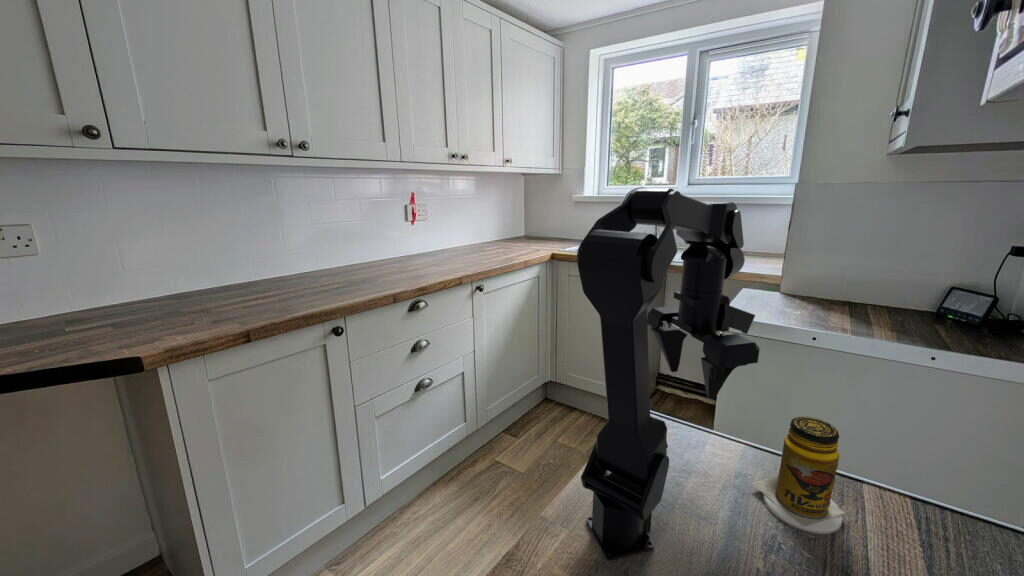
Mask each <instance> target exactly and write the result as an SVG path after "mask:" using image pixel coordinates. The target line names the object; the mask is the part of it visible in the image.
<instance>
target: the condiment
mask: <svg viewBox="0 0 1024 576" xmlns="http://www.w3.org/2000/svg"><path fill="white" fill-rule="evenodd" d="M839 438H840V435H839V430H838V429H837V428H836V427H835V426H834V425H832V424H831V423H829V422H827V421H825V420H823V419H819V418H816V417H810V416H797V417H794V418H792V419H791V421H790V424H789V429H788V434H786V436H785V437H784V441H783V446H782V451H781V459H780V465H779V470H778V475H775V476H773V477H768V478H767V479H766V478H765V479H761V480H758V481H753V482H750V484H751V485H752V486H754V487H755V488H756V489H757V490H758V491H759V492H761V493H762V494H765V495H766V496H767V497H769V498H770V499H771V500H772V501H773V502H774V503H775V504H776V505H778V506H779V507H780V508H781V509H783V510H784V511H785V512H786V513H788V514H789V515H790V516H791V517H792V518H794V519H795V520H796V521H797V522H799V523H800V524H801V525H803V526H807V525H810V524H814V523H818V522H821V521H824V520H827V519H830V518H833V517H835V516H837V515H841V514H842V515H844V514H846V511H844V510H843V509H841V508H839V506H838V505H837V506H838V507H837V506H835V505H833V504H832V503H831V500H832V494H833V491H834V485H835V481H836V473H837V470H838V467H839V459H840V452H839V450H838V447H839ZM830 499H831V500H830Z"/></svg>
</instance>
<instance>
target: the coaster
mask: <svg viewBox="0 0 1024 576" xmlns="http://www.w3.org/2000/svg"><path fill="white" fill-rule="evenodd" d="M762 494H763V493H762ZM762 498H763V502H764V505H765V506H766V507H767V509H768V510H769V511H770V512H771V513H772V514H773V515H774V516H775V517H777V518H778V519H779V520H781V521H783V522H784V523H786V524H787V525H789V526H791V527H793V528H795V529H798V530H800V531H804V532H807V533H811V534H817V535H829V534H834V533H836V532H838V531H839V530H840V528H841V527H842V523H843V514H841V515H837V516H835V517H833V518H830V519H827V520H824V521H821V522H818V523H814V524H810V525H807V526H803V525H801V524H800V523H799V522H797V521H796V520H795V519H794V518H792V517H791V516H790V515H789V514H788V513H786V512H785V511H784V510H783V509H781V508H780V507H779V506H778V505H776V504H775V503H774V502H773V501H772V500H771V499H770V498H769V497H767V496H766V495H765V494H763V495H762ZM830 500H831V503H832V504H833V505H835V506H837V507H838V508H839V506H838V505H837V504H836V503H835V502H834V501H833V500H832V498H831V499H830Z"/></svg>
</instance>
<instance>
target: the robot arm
mask: <svg viewBox="0 0 1024 576" xmlns="http://www.w3.org/2000/svg"><path fill="white" fill-rule="evenodd" d="M638 225H642V226H643V225H645V226H655V227H661V228H663V230H662V232H661V234H660V235H659V237H657V236H656V235H655V234H654V233H653V234H652V233H647V232H636V231H635V232H632V231H633V230H634V229H635V228H636V227H637V226H638ZM674 230H676V231H675V232H676V233H674ZM675 234H676V235H677V237H679V238H681V239H682V240H683V242H684V243H685V245H689V246H688V247H687V249H685V250H684V251H682V253H681V255H680V260H681V261H682V270H681V280H680V282H681V283H680V290H678V291H677V290H676V291H674V292H673V298H674V299H675V300H677V301H679V302H678V306H677V305H672V306H671V305H670V306H660V307H652V309H651V310H650V311H649V312H648V309H649V307H650V305H651V304H652V303H653V301H654V299H656V297H657V295H659V292H660V291H661V290H662V289H663V284H664V277H665V275H666V273H667V272H668V270H669V268H670V266H671V264H672V262H673V260H674V258H675V257H676V255H677V253H678V248H677V247H678V246H677V242H676V238H675V237H676V236H675ZM743 234H744V231H743V222H742V214H741V211H740V210H738V207H737V204H736V203H735V202H733V201H703V200H697V199H695V198H691V197H689V196H687V195H683V194H681V192H680V191H679V190H675V189H673V188H667V187H666V188H659V187H658V188H656V187H655V188H654V187H653V188H651V187H649V188H647V187H646V188H645V187H643V188H638V189H637V190H632V191H631V192H630V193H629V194H628V196H627V197H626V199H624V201H623V203H622V204H620V205H619V206H617V207H615V208H613V209H612V210H611V211H609V212H607V213H606V214H604V215H603V216H601V217H600V218H598V219H597V220H596V221H595V222H594V223H593V226H591V228H590V230H589V231H588V232H587V234H586V235H585V237H584V238H583V240H582V241H581V242H580V244H579V246H578V249H577V253H576V265H577V270H578V274H579V279H580V284H581V288H582V292H583V295H585V297H586V298H587V299H588V301H589V302H590V304H591V305H592V306H593V308H594V309H595V311H596V312H597V313H598V316H599V318H600V319H599V320H600V331H601V332H600V333H601V343H602V346H601V347H602V357H603V358H602V359H603V372H604V383H605V384H604V385H605V397H606V409H607V422H606V423H605V424H604V425H603V427H602V428H601V430H600V431H599V432H598V433H597V434H596V441H595V444H594V446H593V448H592V451H591V452H590V456H589V457H588V459H587V462H586V464H585V467H584V469H583V471H582V474H581V477H580V479H581V484H582V487H583V488H584V489H587V490H590V491H591V492H592V493H593V494H592V510H591V511H592V513H591V514H592V515H588V516H587V517H586V524H587V525H588V527H589V529H590V532H591V533H592V535H593V537H594V538H595V540H596V542H597V544H598V547H600V550H601V552H602V554H603V556H604V558H606V559H607V560H614V559H618V558H623V557H627V556H632V555H636V554H640V553H644V552H649V551H652V550H654V548H655V544H654V542H653V540H652V538H651V537H650V536H649V534H650V532H651V527H652V515H653V512H654V510H655V509H656V508H657V506H658V505H659V504H660V502H661V501H662V498H663V494H664V489H665V485H666V481H667V477H668V472H669V468H670V467H669V466H670V458H669V456H668V454H667V453H668V451H667V449H668V448H669V445H668V442H667V441H668V440H667V433H668V426H667V424H666V422H665V421H664V420H662V419H659V418H656V417H654V416H652V415H651V403H650V401H651V400H650V398H651V397H650V394H651V393H650V367H649V366H650V365H649V363H650V362H649V361H650V360H649V335H648V331H649V330H648V326H650V327H651V328H650V329H651V331H652V332H653V335H654V336H655V338H656V340H657V342H658V345H659V347H660V349H661V351H662V353H663V356H664V359H665V360H666V364H667V367H668V369H669V370H670V372H671V373H677V372H678V370H679V367H680V361H681V358H682V357H681V356H682V349H683V345H684V340H685V338H687V336H689V337H692V338H694V339H696V340H698V341H700V342H701V343H703V345H702V352H703V354H704V356H703V357H702V356H701V357H700V361H701V367H702V373H703V381H704V387H705V391H706V397H707V398H708V399H711V400H712V399H715V398H716V397H717V396H718V394H719V393H720V391H721V389H722V388H723V386H724V385H725V382H726V381H727V379H728V377H730V374H731V373H732V372H733V371H734V370H735V369H736V368H737V367H745V366H748V365H750V364H758V363H759V356H760V349H761V348H760V346H759V345H758V344H757V342H755V341H753V340H750V339H749V338H746V337H745V336H742V335H740V334H738V333H732V334H723V335H722V334H721V335H720V334H719V335H718V334H717V333H718V332H722V333H723V332H724V333H725V332H729V331H730V329H732V330H733V329H734V330H736V331H740V332H741V333H743V334H745V335H747V334H748V333H749V330H750V328H751V327H752V324H753V321H754V320H755V317H756V314H754V313H751V312H749V311H747V310H743V309H741V308H738V307H735V306H732V305H730V303H731V300H730V298H729V296H727V295H724V294H723V292H724V283H725V282H724V281H725V280H727V279H729V278H730V277H732V276H734V275H737V273H739V272H740V271H741V270H742V268H743V267H744V264H745V255H744V251H742V248H744V244H745V243H744V235H743Z"/></svg>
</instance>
